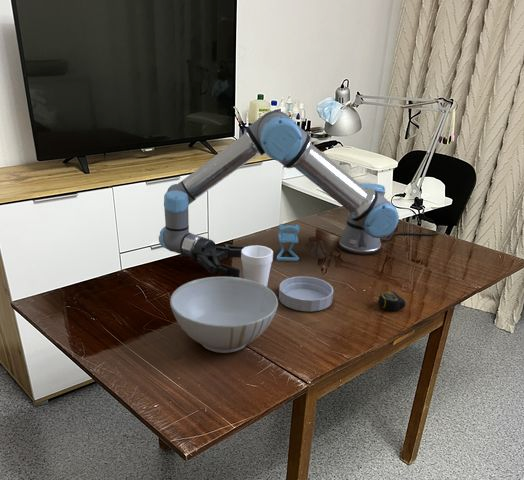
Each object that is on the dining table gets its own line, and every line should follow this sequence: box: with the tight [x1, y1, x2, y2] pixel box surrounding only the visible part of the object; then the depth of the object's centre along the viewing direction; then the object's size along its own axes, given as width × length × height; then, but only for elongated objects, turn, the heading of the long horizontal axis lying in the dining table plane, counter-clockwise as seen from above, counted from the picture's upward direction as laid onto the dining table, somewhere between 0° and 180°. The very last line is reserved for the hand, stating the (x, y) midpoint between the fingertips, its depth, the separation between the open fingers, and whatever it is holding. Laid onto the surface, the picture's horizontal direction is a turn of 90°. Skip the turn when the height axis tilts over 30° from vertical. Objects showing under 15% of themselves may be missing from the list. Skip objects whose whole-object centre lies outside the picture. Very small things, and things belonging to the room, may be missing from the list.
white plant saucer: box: [278, 275, 335, 312], centre depth 164 cm, size 16×16×4 cm
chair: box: [276, 223, 300, 262], centre depth 190 cm, size 8×8×12 cm
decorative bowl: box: [169, 276, 279, 354], centre depth 140 cm, size 27×27×12 cm
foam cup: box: [240, 244, 274, 287], centre depth 165 cm, size 10×9×13 cm
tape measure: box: [378, 291, 407, 311], centre depth 162 cm, size 7×7×4 cm
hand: (253, 267), depth 165 cm, fingers open, 13 cm apart
